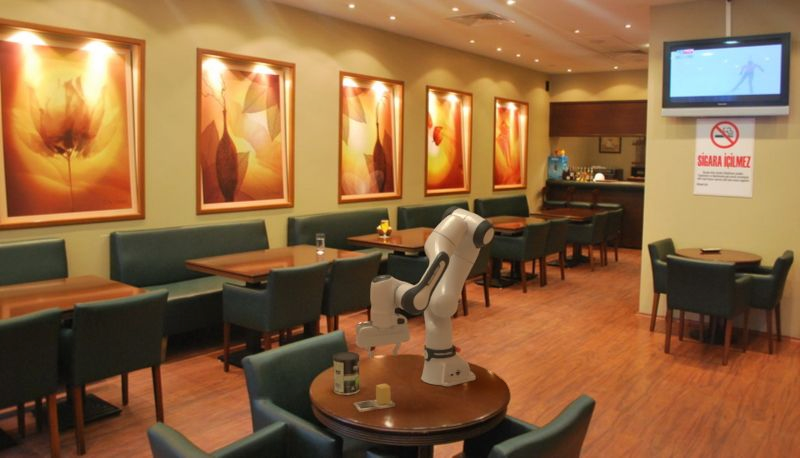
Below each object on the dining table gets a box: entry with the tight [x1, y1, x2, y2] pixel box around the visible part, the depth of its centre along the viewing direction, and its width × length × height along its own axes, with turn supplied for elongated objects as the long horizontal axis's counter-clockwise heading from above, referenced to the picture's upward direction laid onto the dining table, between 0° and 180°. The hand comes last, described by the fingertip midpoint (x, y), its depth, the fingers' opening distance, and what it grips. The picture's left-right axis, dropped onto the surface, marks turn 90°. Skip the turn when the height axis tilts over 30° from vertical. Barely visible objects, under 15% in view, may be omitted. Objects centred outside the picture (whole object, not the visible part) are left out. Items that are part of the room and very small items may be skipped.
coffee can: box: [332, 351, 360, 396], centre depth 256 cm, size 10×10×14 cm
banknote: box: [352, 399, 396, 413], centre depth 242 cm, size 14×7×1 cm, turn 112°
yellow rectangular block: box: [375, 383, 392, 404], centre depth 242 cm, size 4×4×6 cm
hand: (383, 356), depth 241 cm, fingers open, 8 cm apart
